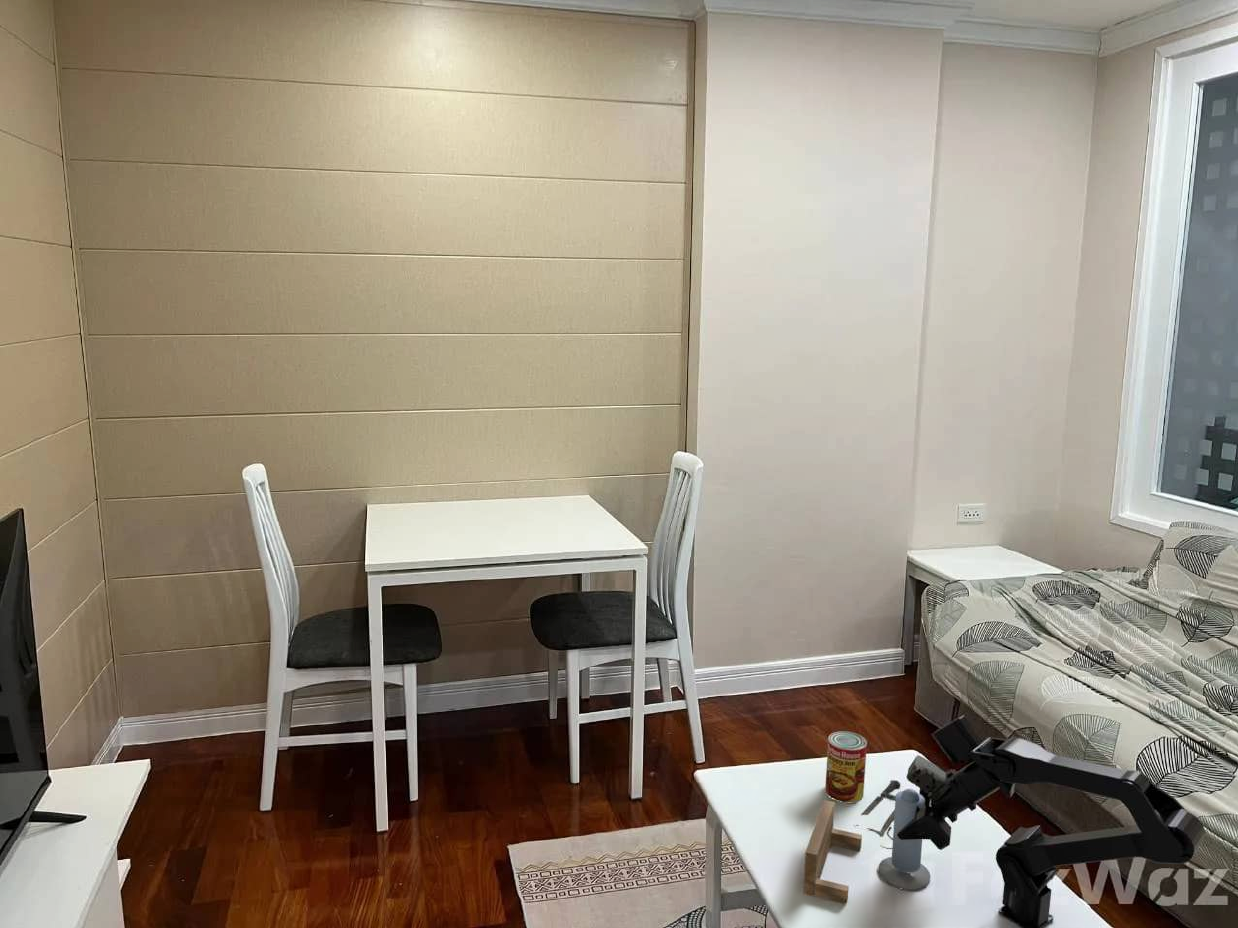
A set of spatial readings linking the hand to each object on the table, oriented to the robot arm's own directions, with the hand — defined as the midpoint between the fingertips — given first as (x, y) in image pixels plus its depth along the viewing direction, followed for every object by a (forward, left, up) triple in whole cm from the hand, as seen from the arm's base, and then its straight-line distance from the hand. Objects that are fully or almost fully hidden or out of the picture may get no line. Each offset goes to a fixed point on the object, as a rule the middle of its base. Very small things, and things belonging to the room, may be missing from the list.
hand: (900, 828), depth 168 cm
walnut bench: (+7, +9, -9) cm, 14 cm away
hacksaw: (+13, -15, -10) cm, 22 cm away
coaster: (-1, -1, -9) cm, 9 cm away
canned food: (+24, -13, -9) cm, 29 cm away
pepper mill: (-1, -1, -7) cm, 7 cm away
